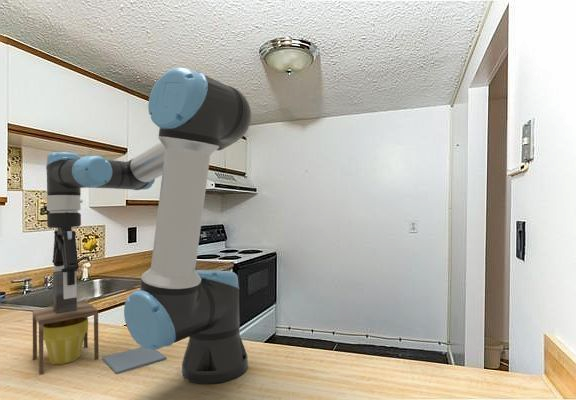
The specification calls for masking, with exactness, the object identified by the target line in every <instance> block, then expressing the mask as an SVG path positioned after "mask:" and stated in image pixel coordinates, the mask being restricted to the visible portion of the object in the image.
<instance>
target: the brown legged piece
mask: <svg viewBox="0 0 576 400" xmlns="http://www.w3.org/2000/svg"><path fill="white" fill-rule="evenodd" d="M52 275H53V276H52V279H53V280H52V283H53V284H52V285H53V287H52V288H53V289H52V290H53V291H52V295H53V297H52V300H53V305H52V306H53V307H46V308H41V309H35V310H32V360H33V361H35V360H38V374H39V376H40V375H43V374H44V371H45V370H44V340H43V324H48V323H53V322H58V321H64V320H69V319H74V318H80V317H87V318H88V317H89V316H93V340H94V341H93V344H94V345H93V352H94V354H93V356H94V357H93V359H94V361H97V360H100V359H99V357H100V356H99V355H100V354H99V351H100V350H99V309H97V308H96V307H95V306H93V305H92V304H90V303H89V302H87V301H83V302H77V301H78V296H77V297H76V298H69V299H64V289H63V273H61V271H57V272H54V271H53V272H52ZM37 333H38V335H37ZM88 336H89V334H88V331H87V332H86V333H85V336H84V341H83V349H85V348H88V347H89V346H88V343H89V339H88Z"/></svg>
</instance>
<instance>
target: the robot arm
mask: <svg viewBox="0 0 576 400" xmlns="http://www.w3.org/2000/svg"><path fill="white" fill-rule="evenodd" d="M147 106H148V107H147V109H148V113H149V116H150V119H151V121H152V123H154V125H156V127H158V128H159V129H158V137H157V138H158V140H159V141H160V142H159V143H157V144H155V145H154V146H152V147H150V148H149V149H147V150H146V151H143V152H142V153H140V154H139V155H137V156H135V157H133V158H131V159H129V160H128V161H124V160H123V161H121V160H116V159H115V160H113V159H105V158H104V157H103V156H100V155H85V156H82V157H81V156H80V155H79V154H78V153H74V152H66V151H65V152H64V151H57V152H56V151H55V152H50V153H48V155H47V158H46V166H45V168H46V192H47V193H46V211H47V212H49V213H48V214H47V215H46V226H47V228H48V229H52V228H53V229H54V228H57V229H56V230H54V231H53V234H54V237H53V238H54V241H53V250H52V251H53V255H52V263H53V265H54V267H53V272H57V271H61V273H63V289H64V299H69V298H76V297H77V298H78V293H77V292H78V289H77V288H78V287H77V285H78V283H77V281H78V280H77V274H78V273H77V270H79V267H80V265H79V260H78V251H77V250H78V247H77V241H76V234H77V232H76V230H72V228H79V227H81V225H82V214H81V213H80V212H79V211H81V209H82V208H81V206H82V205H81V204H83V202H84V200H83V199H81V195H82V193H81V192H82V191H81V189H84V188H85V189H86V188H87V189H88V188H89V189H90V188H91V189H93V188H94V189H118V190H133V191H141V190H143V191H144V190H148V189H150V188H152V186H153V184H154V183H155V181H156V179H158V178H159V177H161V181H160V190H159V191H160V192H159V197H158V206H157V214H156V215H157V216H156V224H155V233H154V238H153V239H154V241H153V249H152V255H151V265H150V268H149V269H147V270H146V271H145V272H144V273H142V274H141V279H140V284H139V285H140V287H139V289H138V290H135V291H133V292H132V293H130V294H129V296H128V297H127V298H126V299H125V302H124V307H123V308H124V309H123V314H124V315H123V316H124V322H125V325H126V329H127V330H128V332H129V335H130V336H131V339H133V340H134V341H135V342H136V343H137V345H139V347H143V348H145V349H149V350H159V349H162V348H165V347H171V346H172V345H174V344H175V343H177V342H180V341H182V340H184V339H187V338H188V342H187V345H186V349H185V352H184V355H183V359H182V363H181V375H182V377H183V378H184V379H185V380H187V381H189V382H192V383H195V384H205V385H206V384H208V385H209V384H219V383H224V382H228V381H231V380H234V379H236V378H239V377H240V376H242V375H243V374H244V373H245V372H246V371H247V370H248V368H249V366H248V365H249V363H248V361H249V360H248V354H247V352H246V348H245V345H244V342H243V340H242V336H241V334H240V333H241V332H240V331H241V330H240V292H239V291H240V287H239V277H238V275H237V273H235V272H234V271H230V270H216V269H197V270H196V266H197V258H198V251H199V243H200V235H201V229H202V221H203V214H204V205H205V200H206V199H205V198H206V190H207V182H208V174H209V167H210V160H211V159H210V158H211V155H212V154H213V153H215V152H217V151H222V150H224V149H226V148H228V147H230V146H232V145H234V144H235V143H237V142H238V141H240V140H241V139H242V138H243V137H244V136H245V134H246V133H247V132H248V130H249V127H250V125H251V121H252V110H251V106H250V104H249V101H248V100H247V97H246V96H245V95H244V94H243V93H242V92H241V91H240V90H238V89H237V88H235V87H233V86H231V85H227V84H226V83H222V82H221V81H218V79H217V80H216V79H214V78H212V77H210V76H208V75H205V74H204V73H202V72H201V71H195V70H192V69H188V68H186V67H173V68H171V69H169V70H167V71H166V72H164V73H163V74H162V75H161V77H160V78H158V79H157V81H156V82H155V83H154V85H153V87H152V89H151V91H150V95H149V99H148V103H147Z"/></svg>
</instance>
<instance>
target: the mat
mask: <svg viewBox="0 0 576 400" xmlns="http://www.w3.org/2000/svg"><path fill="white" fill-rule="evenodd" d="M167 357H168V356H165V355H164V354H163V353H161V352H160V351H158V349H156V350H149V349H145V348H143V347H142V346H139V347H136V348H132V349H128V350H125V351H121V352H117V353H113V354H109V355H106V356H102V359H101V360H103V361H104V363H105V364H106V365H107V366H108V367H109V369H111V370H112V372H113V373H115V375H118V374H122V373H125V372H128V371H132V370H135V369H139V368H143V367H145V366H148V365H151V364H155V363H158V362H162V361H165V360H167V359H168V358H167Z"/></svg>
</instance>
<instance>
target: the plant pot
mask: <svg viewBox="0 0 576 400" xmlns="http://www.w3.org/2000/svg"><path fill="white" fill-rule="evenodd" d="M88 330H89V318H88V316H87V317H80V318H74V319H69V320H64V321H58V322H53V323H48V324H43V342H44V345H45V346H46V347H45V348H46V351H47V354H48V359H49V362H50V364H52V365H64V364H68V363H72V362H74V361H76V360H78V359H79V358H80V357H81V354H82V353H81V352H82V348H83V346H84V336H85V333H86V332H87V331H88Z"/></svg>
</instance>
